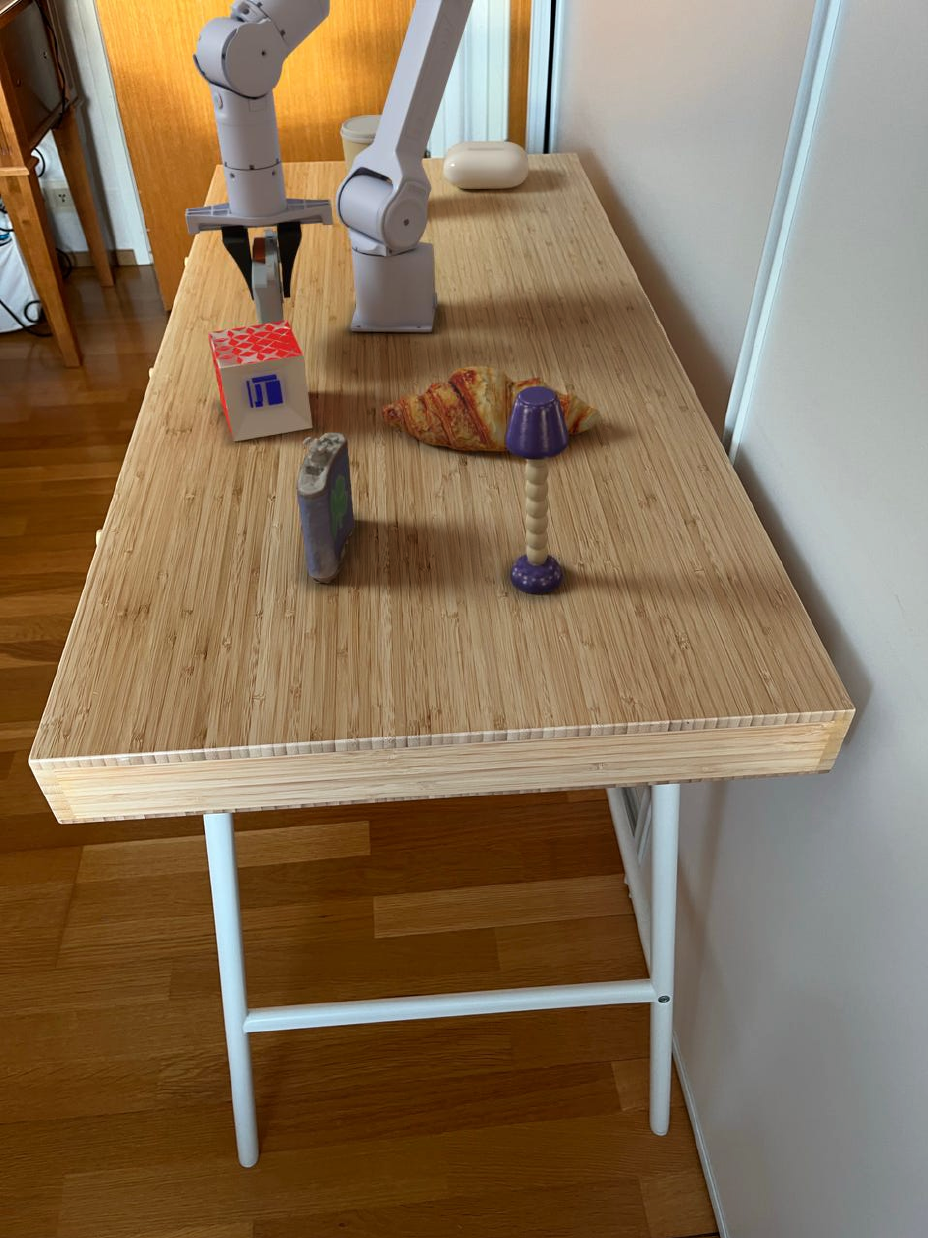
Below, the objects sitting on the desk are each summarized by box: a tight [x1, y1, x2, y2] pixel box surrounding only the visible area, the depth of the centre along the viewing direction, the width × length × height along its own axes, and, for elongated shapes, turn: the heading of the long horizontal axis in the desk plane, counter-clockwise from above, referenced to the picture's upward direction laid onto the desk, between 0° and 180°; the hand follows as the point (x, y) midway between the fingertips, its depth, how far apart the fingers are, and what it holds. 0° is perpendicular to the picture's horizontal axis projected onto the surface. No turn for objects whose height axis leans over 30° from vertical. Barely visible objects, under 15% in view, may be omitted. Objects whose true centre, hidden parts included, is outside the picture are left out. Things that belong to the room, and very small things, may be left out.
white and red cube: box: [207, 320, 314, 443], centre depth 98 cm, size 8×8×8 cm
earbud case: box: [442, 140, 530, 190], centre depth 151 cm, size 10×13×5 cm
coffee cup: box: [339, 114, 393, 184], centre depth 140 cm, size 9×9×12 cm
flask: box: [295, 432, 356, 584], centre depth 80 cm, size 9×3×11 cm, turn 172°
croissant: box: [381, 365, 601, 452], centre depth 96 cm, size 21×10×8 cm, turn 92°
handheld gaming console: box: [251, 228, 285, 325], centre depth 105 cm, size 14×3×8 cm, turn 9°
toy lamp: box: [505, 386, 570, 595], centre depth 75 cm, size 5×5×17 cm
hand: (271, 295), depth 106 cm, fingers closed on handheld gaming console, 3 cm apart
